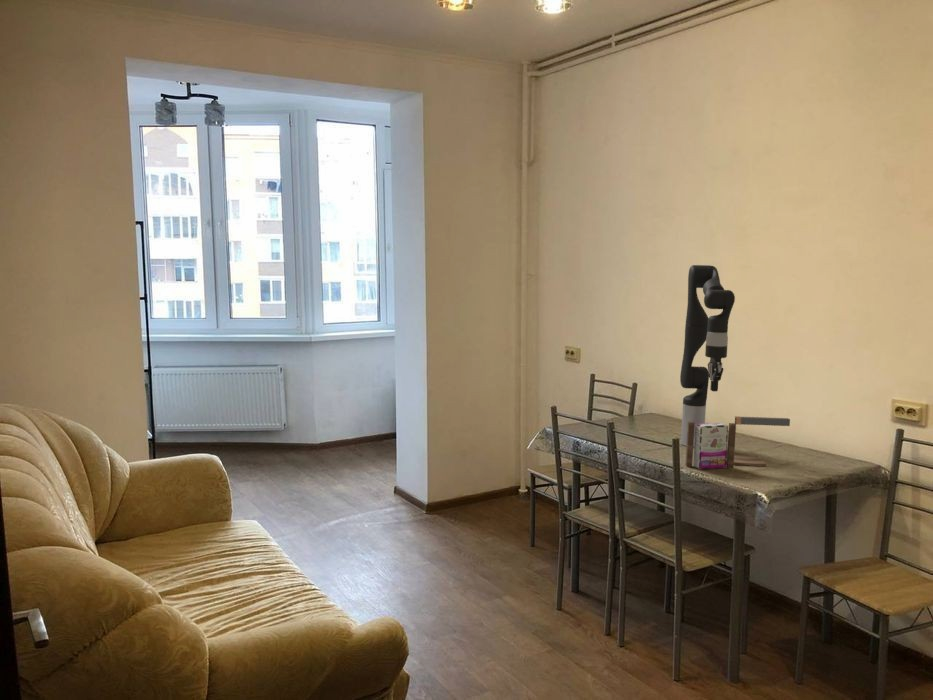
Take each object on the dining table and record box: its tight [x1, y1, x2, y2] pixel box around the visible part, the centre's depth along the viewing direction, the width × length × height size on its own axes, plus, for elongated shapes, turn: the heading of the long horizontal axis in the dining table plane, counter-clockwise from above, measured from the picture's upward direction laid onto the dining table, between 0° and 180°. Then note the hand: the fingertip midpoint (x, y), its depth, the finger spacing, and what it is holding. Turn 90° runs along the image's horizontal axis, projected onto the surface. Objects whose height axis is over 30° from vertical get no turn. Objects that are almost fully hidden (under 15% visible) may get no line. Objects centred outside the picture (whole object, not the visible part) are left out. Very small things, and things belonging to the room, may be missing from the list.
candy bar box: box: [693, 422, 729, 470], centre depth 265 cm, size 11×5×16 cm, turn 101°
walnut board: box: [726, 454, 767, 467], centre depth 275 cm, size 12×16×1 cm
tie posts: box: [685, 422, 737, 469], centre depth 265 cm, size 2×17×17 cm, turn 85°
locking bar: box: [734, 415, 791, 427], centre depth 263 cm, size 2×19×3 cm, turn 85°
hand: (713, 390), depth 263 cm, fingers closed
